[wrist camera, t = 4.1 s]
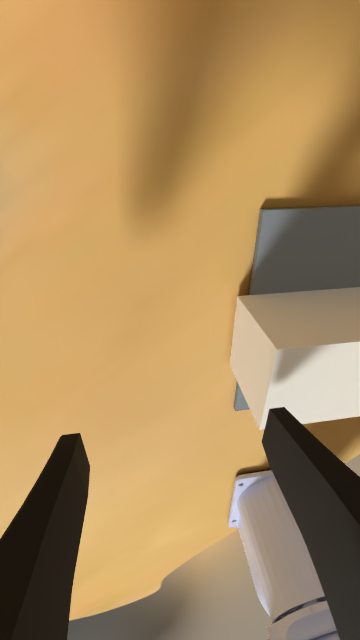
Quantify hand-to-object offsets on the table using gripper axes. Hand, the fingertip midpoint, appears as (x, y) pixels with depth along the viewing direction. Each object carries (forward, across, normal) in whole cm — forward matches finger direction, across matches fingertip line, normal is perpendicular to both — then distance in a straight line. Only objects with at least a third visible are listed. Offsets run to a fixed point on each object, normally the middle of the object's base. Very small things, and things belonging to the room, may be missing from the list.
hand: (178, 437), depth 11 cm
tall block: (+4, -4, 0) cm, 6 cm away
